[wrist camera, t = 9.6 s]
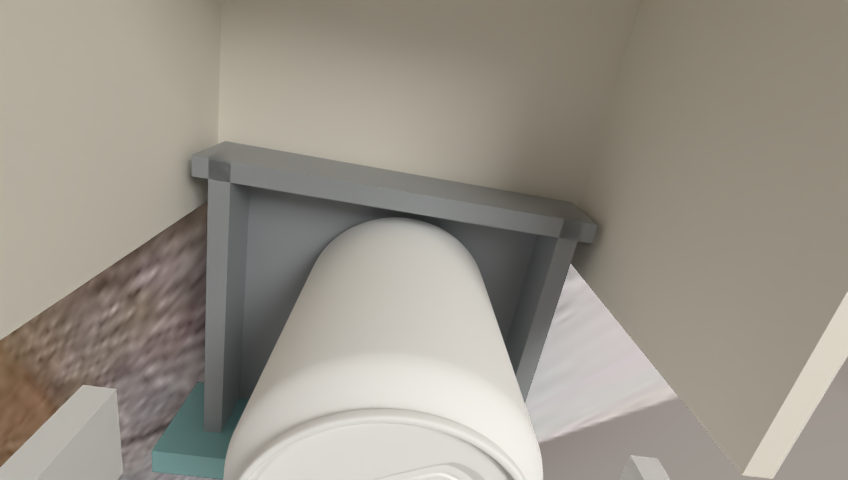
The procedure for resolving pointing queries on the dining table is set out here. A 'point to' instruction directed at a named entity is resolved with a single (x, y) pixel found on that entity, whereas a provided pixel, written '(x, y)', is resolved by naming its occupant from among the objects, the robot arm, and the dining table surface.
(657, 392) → the dining table surface
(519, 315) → the teal drawer
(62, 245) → the white drawer cabinet
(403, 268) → the beverage can
